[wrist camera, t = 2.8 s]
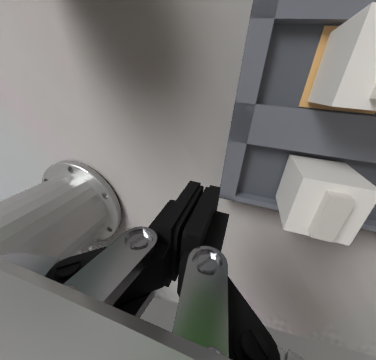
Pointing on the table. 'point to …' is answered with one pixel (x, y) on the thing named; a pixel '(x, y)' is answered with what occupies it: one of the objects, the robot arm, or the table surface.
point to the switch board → (291, 103)
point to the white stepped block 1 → (349, 64)
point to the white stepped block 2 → (324, 199)
